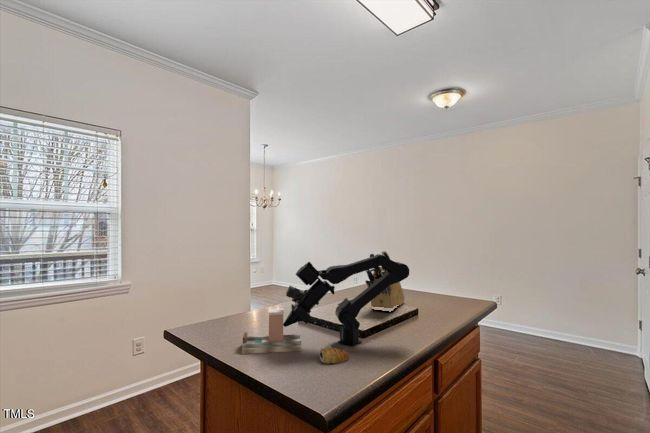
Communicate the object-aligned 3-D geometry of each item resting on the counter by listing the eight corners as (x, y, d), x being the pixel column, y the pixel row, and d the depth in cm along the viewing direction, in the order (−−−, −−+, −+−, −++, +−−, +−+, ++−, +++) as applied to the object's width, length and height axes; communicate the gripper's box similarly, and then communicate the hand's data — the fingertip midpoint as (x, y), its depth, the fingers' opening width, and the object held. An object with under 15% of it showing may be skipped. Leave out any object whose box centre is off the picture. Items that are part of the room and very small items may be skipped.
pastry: (345, 354, 107) (345, 343, 107) (351, 363, 101) (351, 351, 101) (317, 357, 105) (317, 345, 105) (322, 366, 99) (322, 353, 99)
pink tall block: (283, 338, 117) (283, 308, 117) (283, 343, 111) (283, 312, 112) (268, 338, 116) (269, 308, 116) (268, 343, 111) (268, 312, 111)
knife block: (363, 315, 154) (363, 251, 155) (385, 300, 185) (385, 246, 186) (386, 318, 148) (386, 252, 149) (405, 302, 179) (404, 247, 180)
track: (299, 340, 120) (299, 328, 120) (301, 350, 110) (301, 337, 110) (244, 343, 117) (245, 330, 117) (241, 353, 107) (242, 340, 107)
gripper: (297, 274, 125) (268, 303, 123) (301, 283, 106) (267, 317, 104) (317, 294, 126) (289, 323, 124) (324, 306, 107) (290, 341, 105)
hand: (283, 325), depth 114 cm, fingers closed, pressing on pink tall block
